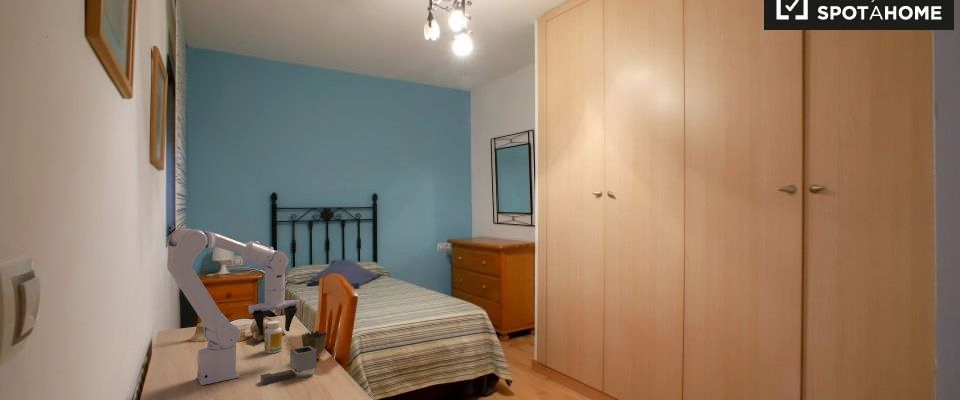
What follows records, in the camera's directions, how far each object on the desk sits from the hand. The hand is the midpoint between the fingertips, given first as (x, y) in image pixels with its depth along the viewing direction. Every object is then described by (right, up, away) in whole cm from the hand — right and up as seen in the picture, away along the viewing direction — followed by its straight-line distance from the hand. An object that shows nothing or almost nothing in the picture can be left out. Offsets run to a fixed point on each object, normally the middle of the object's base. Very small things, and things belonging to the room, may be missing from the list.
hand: (274, 332), depth 143 cm
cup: (+11, -10, +4) cm, 15 cm away
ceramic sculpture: (-15, -10, +25) cm, 31 cm away
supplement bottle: (-5, -10, +11) cm, 16 cm away
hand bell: (-37, -10, +24) cm, 45 cm away
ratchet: (+9, -9, -12) cm, 18 cm away
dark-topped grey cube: (+13, -8, -9) cm, 17 cm away
